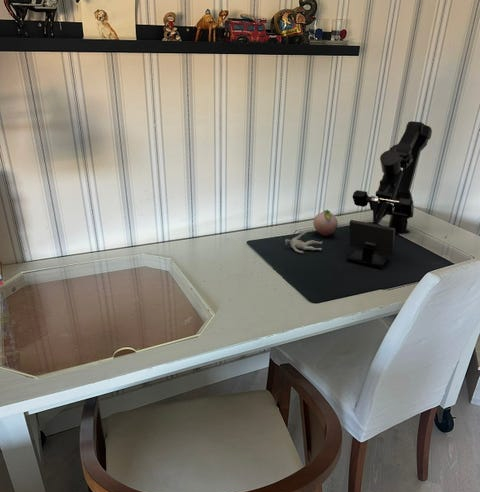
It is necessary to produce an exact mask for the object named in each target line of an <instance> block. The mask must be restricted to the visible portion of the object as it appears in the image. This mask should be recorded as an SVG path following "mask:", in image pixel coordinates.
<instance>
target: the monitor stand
mask: <svg viewBox="0 0 480 492" xmlns="http://www.w3.org/2000/svg"><path fill="white" fill-rule="evenodd" d="M374 250H375V247H371V246H367V245H365V246H364V247H363V249H362V251H361V250H357V249H356V250H355V251H354V252H352V253H351V254H350V256H348V257H347V259H346V260H347V263H351V264H356V265H359V266H364V267H367V268H373V269H375V270H376V269H377V270H382V269H383V268H385V266H386V264H387V263H388V262H389V259H390V257H389V256H384V255H380V254H376V253H375V252H374Z"/></svg>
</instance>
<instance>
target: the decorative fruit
mask: <svg viewBox="0 0 480 492" xmlns="http://www.w3.org/2000/svg"><path fill="white" fill-rule="evenodd" d="M338 224H339V222H338V219H337V217H336V216H335V215H334V214H333V212H331V211H330V210H329V209H324V210H323V211H322V212H319V213H317V214H316V215H315V217H314V218H313V227H314V230H315V231H316V232H318V233H319V234H320V235H322V236H324V237H327V236H329V235H332V234H333V233H335V231H336V230H337V228H338V226H339V225H338Z"/></svg>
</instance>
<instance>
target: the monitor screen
mask: <svg viewBox="0 0 480 492" xmlns="http://www.w3.org/2000/svg"><path fill="white" fill-rule="evenodd" d="M395 235H396V234H395V228H391V227H389V226H385V225H381V224H377V225H376V224H373V223H370V222H365V221H359V220H354V219H350V221H349V247H352V248H357V249H362V250H363V247H364V246H365V245H367V246H371V247H375V250H374V253H379V254H384V255H388V256H393V255H394V249H395Z"/></svg>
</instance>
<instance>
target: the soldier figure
mask: <svg viewBox="0 0 480 492" xmlns="http://www.w3.org/2000/svg"><path fill="white" fill-rule="evenodd" d="M305 234H307V232H304V231H303V232H302V233H300V234H299V235H297V236H295V237H293V238H292V239H289V238H285V241H284V243H285V246H288V245H289V244H290V247H291V248H292V249H293V251H294V252H296V253H299V254H304V251H319V252H321V251H323V248H322V247H314V246H311V245H323V240H322V241H316V240H314V239H312V240H311V239H310V240H307V241H306V242H305V241H302V240H301V239H300V238H301V237H302V236H303V235H305ZM299 249H300V250H299Z"/></svg>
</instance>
